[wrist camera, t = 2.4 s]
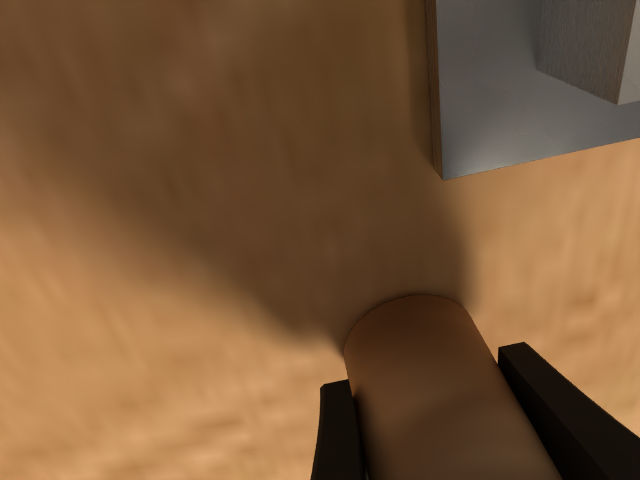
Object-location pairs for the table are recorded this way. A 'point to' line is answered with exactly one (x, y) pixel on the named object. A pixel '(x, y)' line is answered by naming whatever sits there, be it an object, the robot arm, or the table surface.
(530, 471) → the cylinder
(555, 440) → the robot arm
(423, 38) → the table surface
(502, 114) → the mount
